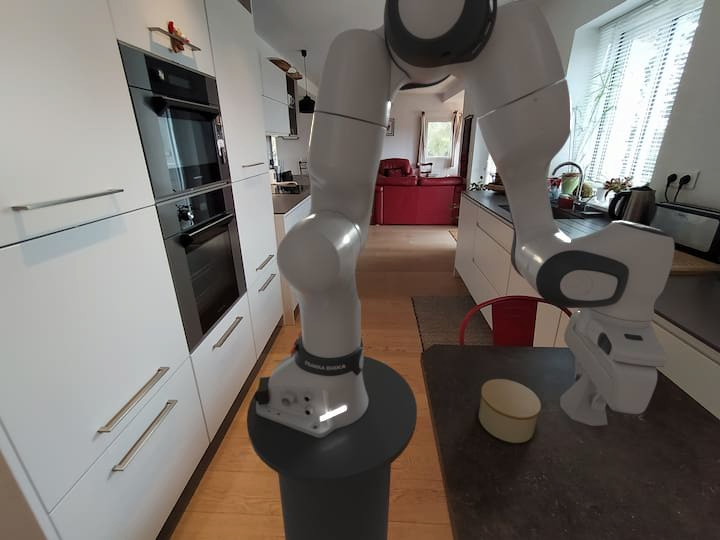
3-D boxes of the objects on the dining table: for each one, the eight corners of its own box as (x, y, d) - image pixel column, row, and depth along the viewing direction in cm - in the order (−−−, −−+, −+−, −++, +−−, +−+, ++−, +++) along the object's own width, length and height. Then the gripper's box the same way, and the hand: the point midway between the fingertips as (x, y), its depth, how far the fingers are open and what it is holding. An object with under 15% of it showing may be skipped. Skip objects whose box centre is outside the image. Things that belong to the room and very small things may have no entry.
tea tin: (480, 438, 60) (485, 412, 58) (474, 399, 70) (478, 375, 68) (542, 448, 58) (548, 422, 56) (526, 407, 67) (532, 382, 65)
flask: (553, 394, 61) (565, 349, 58) (595, 400, 60) (610, 354, 57) (567, 423, 55) (583, 374, 51) (616, 431, 53) (634, 381, 50)
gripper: (564, 295, 62) (548, 357, 66) (621, 358, 43) (593, 437, 47) (602, 299, 60) (582, 362, 65) (677, 365, 42) (642, 446, 46)
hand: (587, 394), depth 56 cm, fingers closed on flask, 5 cm apart
